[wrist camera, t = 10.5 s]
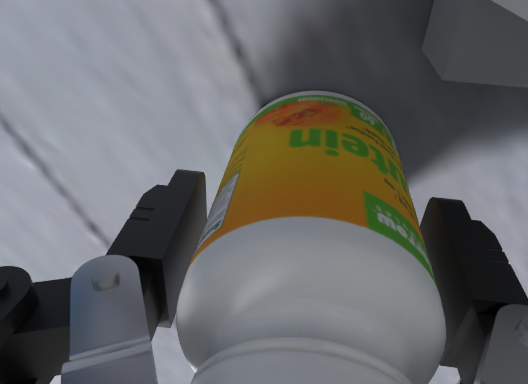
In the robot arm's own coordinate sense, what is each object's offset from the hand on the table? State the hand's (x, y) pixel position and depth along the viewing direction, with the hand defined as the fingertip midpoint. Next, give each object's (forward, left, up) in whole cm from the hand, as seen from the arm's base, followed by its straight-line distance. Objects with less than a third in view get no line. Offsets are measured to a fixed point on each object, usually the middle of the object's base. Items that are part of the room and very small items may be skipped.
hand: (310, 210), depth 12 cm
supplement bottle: (0, 0, -3) cm, 3 cm away
